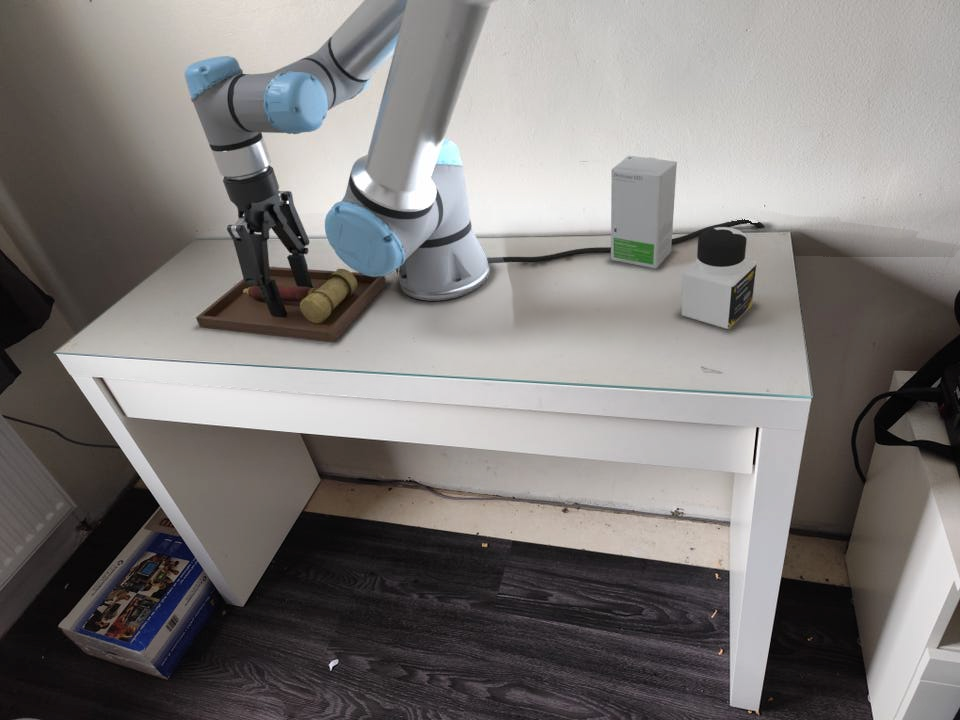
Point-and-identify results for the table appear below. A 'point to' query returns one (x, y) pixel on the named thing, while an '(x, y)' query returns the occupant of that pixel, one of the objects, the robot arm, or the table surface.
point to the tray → (289, 309)
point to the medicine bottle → (719, 279)
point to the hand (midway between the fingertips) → (292, 301)
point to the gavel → (316, 295)
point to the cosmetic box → (642, 210)
